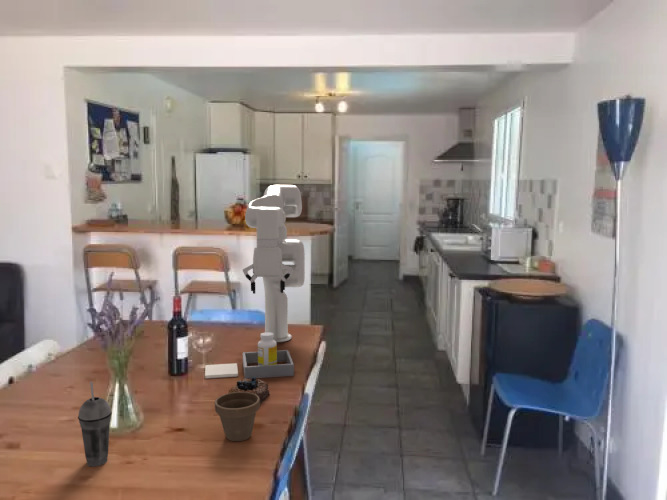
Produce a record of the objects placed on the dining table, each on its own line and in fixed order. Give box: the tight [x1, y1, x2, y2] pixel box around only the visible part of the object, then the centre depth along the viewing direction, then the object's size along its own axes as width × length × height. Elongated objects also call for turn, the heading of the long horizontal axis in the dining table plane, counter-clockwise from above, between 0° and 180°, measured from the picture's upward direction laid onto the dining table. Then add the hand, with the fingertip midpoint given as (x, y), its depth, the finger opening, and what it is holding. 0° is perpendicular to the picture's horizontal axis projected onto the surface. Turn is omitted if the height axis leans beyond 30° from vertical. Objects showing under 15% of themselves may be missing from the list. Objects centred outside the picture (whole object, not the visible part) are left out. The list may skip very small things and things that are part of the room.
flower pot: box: [214, 392, 261, 442], centre depth 143 cm, size 12×11×10 cm
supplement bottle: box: [257, 331, 278, 366], centre depth 195 cm, size 7×7×13 cm
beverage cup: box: [77, 381, 113, 468], centre depth 129 cm, size 7×7×20 cm
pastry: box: [227, 377, 270, 404], centre depth 170 cm, size 11×12×6 cm
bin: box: [242, 349, 295, 380], centre depth 196 cm, size 17×17×4 cm
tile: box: [204, 362, 239, 379], centre depth 193 cm, size 11×11×1 cm
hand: (267, 292), depth 193 cm, fingers open, 9 cm apart
